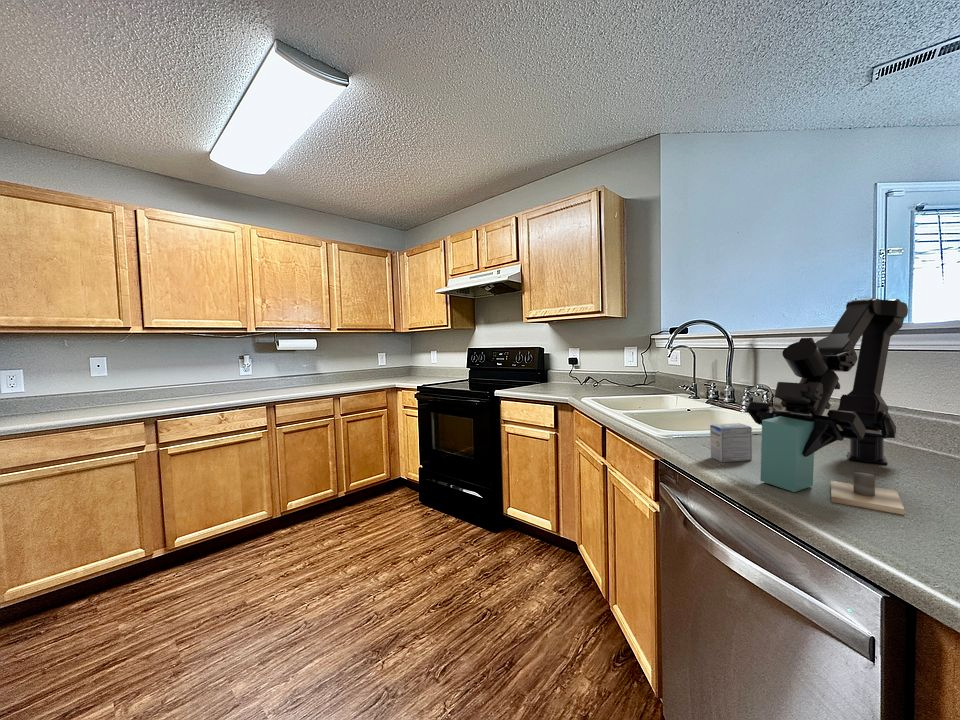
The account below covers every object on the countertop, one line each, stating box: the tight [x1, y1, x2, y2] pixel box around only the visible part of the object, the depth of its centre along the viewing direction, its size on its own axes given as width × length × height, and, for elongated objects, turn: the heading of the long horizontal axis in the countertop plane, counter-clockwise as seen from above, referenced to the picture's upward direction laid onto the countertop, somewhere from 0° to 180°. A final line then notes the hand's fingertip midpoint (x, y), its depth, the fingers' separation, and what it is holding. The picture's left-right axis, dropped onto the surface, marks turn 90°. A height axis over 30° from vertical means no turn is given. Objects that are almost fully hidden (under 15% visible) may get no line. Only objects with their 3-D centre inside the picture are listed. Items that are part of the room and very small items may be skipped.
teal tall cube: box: [759, 416, 815, 493], centre depth 78 cm, size 6×6×13 cm
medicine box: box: [709, 422, 753, 463], centre depth 96 cm, size 8×4×9 cm, turn 92°
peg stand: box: [830, 471, 905, 516], centre depth 70 cm, size 10×9×4 cm
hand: (784, 451), depth 77 cm, fingers closed on teal tall cube, 6 cm apart
